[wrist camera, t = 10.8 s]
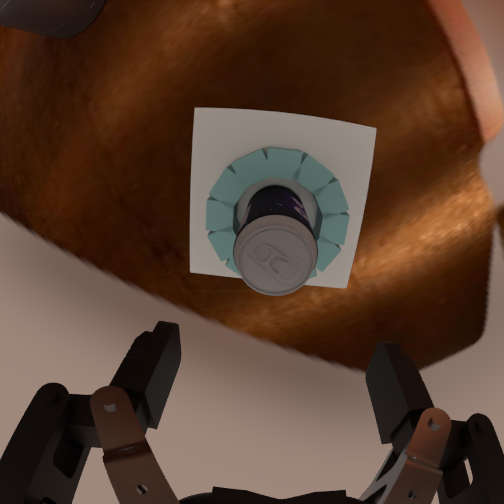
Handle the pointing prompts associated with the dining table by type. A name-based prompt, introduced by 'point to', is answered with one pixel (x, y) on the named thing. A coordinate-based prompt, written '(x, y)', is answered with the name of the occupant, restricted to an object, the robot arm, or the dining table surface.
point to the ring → (287, 167)
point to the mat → (284, 136)
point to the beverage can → (275, 242)
